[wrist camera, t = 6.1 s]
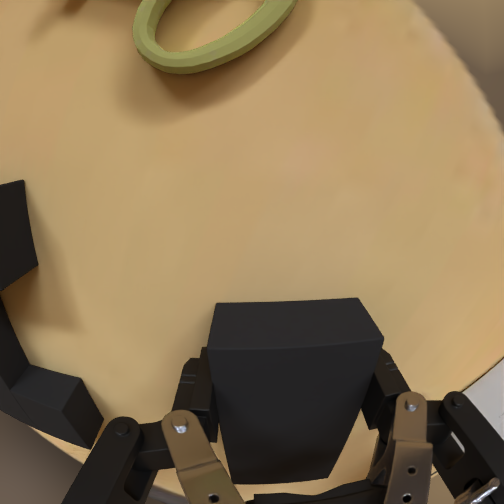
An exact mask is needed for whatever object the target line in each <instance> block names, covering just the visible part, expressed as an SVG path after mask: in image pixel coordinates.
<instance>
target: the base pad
mask: <svg viewBox="0 0 504 504" xmlns="http://www.w3.org/2000/svg"><path fill="white" fill-rule="evenodd" d="M36 266H38V262H37V257H36V253H35V249H34V244H33V239H32V234H31V229H30V224H29V218H28V211H27V204H26V196H25V187H24V180H19V181H14V182H10V183H6V184H2V185H0V291H2V290H4V289H5V288H6V287H8V286H9V285H10V284H12V283H13V282H15V281H16V280H17V279H19V278H20V277H22V276H23V275H25V274H26V273H27V272H29V271H30V270H32V269H33V268H35V267H36ZM0 410H1V411H3V412H4V413H6V414H8V415H10V416H12V417H14V418H15V419H17V420H19V421H21V422H23V423H25V424H27V425H29V426H31V427H33V428H35V429H38V430H40V431H42V432H44V433H47V434H49V435H51V436H54V437H56V438H59V439H61V440H64V441H66V442H69V443H72V444H74V445H77V446H80V447H83V448H86V449H89V450H91V449H92V446H93V444H94V442H95V439H96V437H97V434H98V432H99V430H100V428H101V425H102V423H103V421H104V418H103V417H102V415H101V413H100V412H99V410H98V408H97V407H96V405H95V403H94V401H93V400H92V398H91V396H90V394H89V393H88V391H87V389H86V387H85V385H84V383H83V381H82V379H81V378H78V377H74V376H70V375H66V374H62V373H58V372H54V371H51V370H47V369H44V368H40V367H37V366H34V365H30V364H29V362H28V360H27V358H26V356H25V354H24V352H23V350H22V348H21V346H20V344H19V341H18V339H17V337H16V335H15V333H14V330H13V328H12V326H11V323H10V321H9V318H8V316H7V313H6V311H5V308H4V306H3V303H2V300H1V297H0Z"/></svg>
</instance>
